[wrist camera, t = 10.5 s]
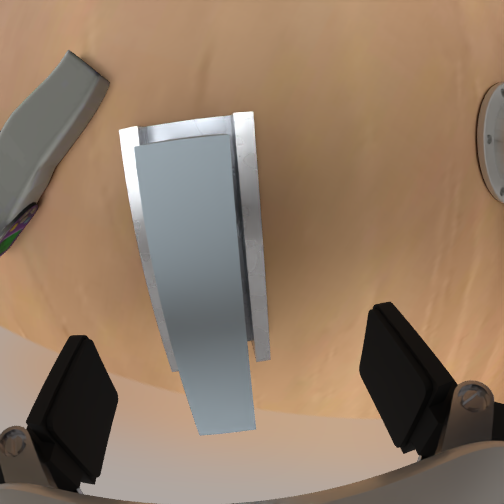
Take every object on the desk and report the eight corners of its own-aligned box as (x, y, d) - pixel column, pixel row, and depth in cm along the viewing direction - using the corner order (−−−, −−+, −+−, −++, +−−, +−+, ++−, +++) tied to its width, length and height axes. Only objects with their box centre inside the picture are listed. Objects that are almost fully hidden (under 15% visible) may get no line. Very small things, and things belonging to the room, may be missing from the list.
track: (134, 130, 17) (119, 130, 14) (244, 115, 18) (252, 111, 15) (174, 341, 23) (172, 371, 20) (262, 331, 24) (270, 359, 21)
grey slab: (168, 139, 17) (133, 146, 9) (218, 133, 17) (229, 134, 9) (197, 337, 22) (199, 435, 14) (237, 332, 23) (256, 429, 14)
